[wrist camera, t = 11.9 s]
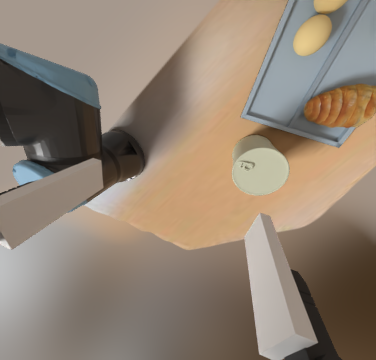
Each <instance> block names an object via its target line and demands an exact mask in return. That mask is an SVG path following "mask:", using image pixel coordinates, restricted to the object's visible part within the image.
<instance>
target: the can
mask: <svg viewBox="0 0 376 360" xmlns="http://www.w3.org/2000/svg"><path fill="white" fill-rule="evenodd" d="M232 158H233V169H232V178H233V181H234V183H235V185H236V186H237V187H238V188H239V189H240V190H241V191H243V192H245V193H247V194H250V195H267V194H270V193H272V192H275V191H276V190H278V189H279V188H280V187H282V186H283V185H284V183H285V182H286V180H287V178H288V176H289V163H288V161H287V159H286V157H285V156H284V155H283V154H282V153H280V152H279V151H278V150H277V149H276V148H275V147H274V146H273V145H272V143H271V142H270V141H269V140H268V139H267V138H265V137H263V136H260V135H250V136H247V137H245V138H243V139H241V140H240V141H239V142H238V143H237V144H236V145H235V147H234V149H233V153H232Z"/></svg>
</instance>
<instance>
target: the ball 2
mask: <svg viewBox="0 0 376 360" xmlns="http://www.w3.org/2000/svg"><path fill="white" fill-rule="evenodd" d="M347 1H348V0H314V8H315V10H316V11H317V12H318V13H319V14H329V13H332V12H334V11H336V10H337V9H339V8H340V7H341V6H342V5H344V4H345V3H346V2H347Z"/></svg>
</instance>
